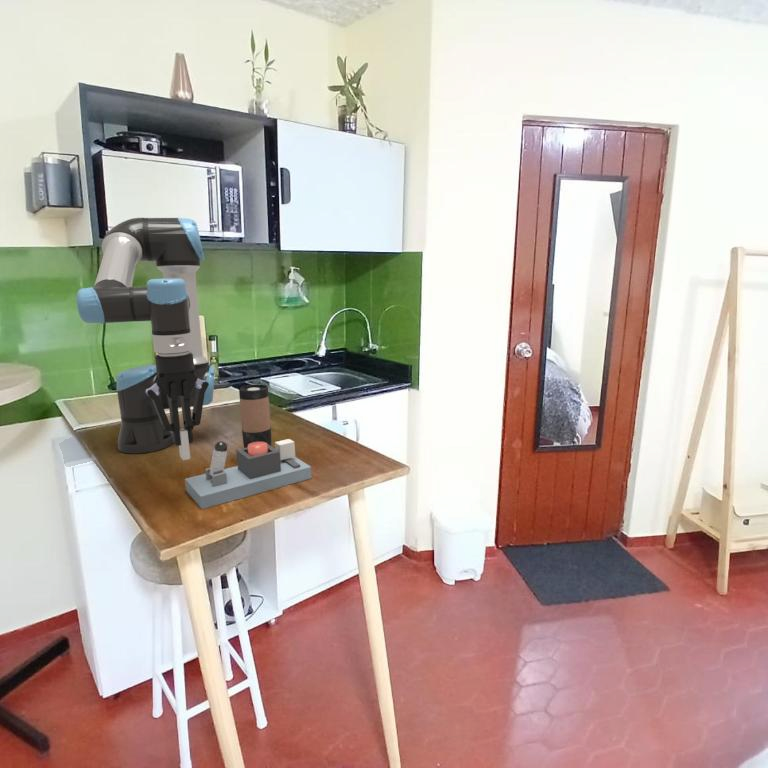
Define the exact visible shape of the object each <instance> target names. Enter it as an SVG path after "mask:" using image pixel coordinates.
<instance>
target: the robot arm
mask: <svg viewBox="0 0 768 768" xmlns="http://www.w3.org/2000/svg"><path fill="white" fill-rule="evenodd" d="M101 252H102V254H103V256H102V260H101V262H100V266H99V268H98V272H97V276H96V280H95V281H94V286H92V287H91V286H90V287H85V288H84V287H83V288H80V289H79V290H78V291H77V294H76V304H77V311H78V315H79V318H80V319H81V320H82V321H83V322H84V323H85V324H86V323H87V324H102V325H103V324H109V323H110V324H111V323H112V324H113V323H126V322H127V323H129V322H130V323H131V322H150V324H151V334H152V335H151V336H152V342H153V343H152V344H153V352H154V353H155V354H156V355H155V357H154V361H155V364H147V365H140V366H136V367H131V368H128V369H126V370H123V371H121V372H119V373H118V374H117V376H116V379H115V383H116V389H115V390H116V392H117V400H118V405H119V407H118V408H119V413H120V420H121V422H120V423H121V424H120V428H119V429H120V430H119V432H118V433H119V434H118V439H117V448H118V449H117V450H118V451H119V452H121V453H125V454H147V453H151V452H152V453H153V452H155V451H161V450H163V449H166V448H167V447H168V448H169V447H170V446H172V444H174V445H175V447H178V450H179V457H180V458H181V459H182V460H183V461H186V460H190V459H191V451H190V444H192V443H193V442H194V434H193V430H194V427H196V426H199V425H201V420H202V414H203V407H204V406H208V405H210V404H212V402H213V400H214V391H215V390H214V387H215V366H213V365H210V362H209V359H207V358H206V357H205V356H204V353H203V344H202V334H201V332H202V331H201V320H200V311H199V303H198V301H199V300H198V290H197V280H196V273H197V271H198V270H199V269H200V268H201V262H203V261H205V260H206V259H205V254H204V251H203V245H202V242H201V236H200V233H199V228H198V225H197V222H196V221H195V220H194V219H191V218H185V217H184V218H183V217H133V218H130V219H127V220H124V221H122V222H120V223H118V224H116V225H114V226H113V227H112V228H111V229H110V230H108V231H107V233H106V234H105V235H104V237H103V240H102V243H101ZM139 262H155V264H156V266H155V267H156V269H158V271H160V272H161V274H162V275H163V278H152V279H149V280H148V281H147V282H146V286H133V283H134V278H135V272H136V266H137V264H139ZM192 407H193V408H192ZM180 408H181V415H182V424H183V426H184V427H181V426H180V425H181V424H180V414H179V409H180ZM191 408H192V412H191ZM165 410H169V418H170V421H169V419H168V416H167V413H166V411H165Z"/></svg>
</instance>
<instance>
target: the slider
mask: <svg viewBox="0 0 768 768" xmlns="http://www.w3.org/2000/svg"><path fill="white" fill-rule="evenodd" d="M295 443H296V442H295V441H294V440H292V439H290V438H287V439H282V440H279V441H275V442H274V448H275V449H276V450H278V451H279V452H280V460H284V459H288V458H292V457H296V445H295Z"/></svg>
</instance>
